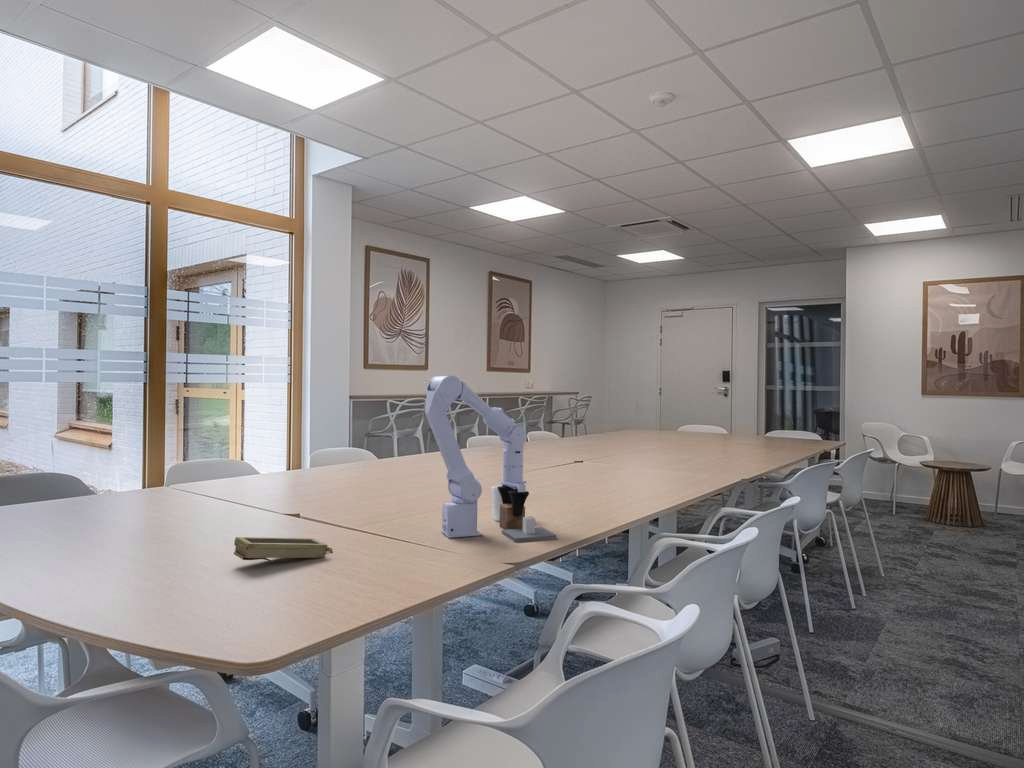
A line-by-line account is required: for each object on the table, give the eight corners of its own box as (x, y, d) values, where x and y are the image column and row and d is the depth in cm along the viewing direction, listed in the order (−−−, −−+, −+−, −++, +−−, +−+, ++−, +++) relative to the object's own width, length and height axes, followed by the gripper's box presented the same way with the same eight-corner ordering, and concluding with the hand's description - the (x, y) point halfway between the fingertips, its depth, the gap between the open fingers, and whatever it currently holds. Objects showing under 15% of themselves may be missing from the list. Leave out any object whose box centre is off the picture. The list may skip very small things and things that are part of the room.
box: (229, 558, 138) (233, 536, 139) (321, 557, 153) (325, 537, 154) (243, 567, 132) (248, 544, 133) (338, 565, 147) (341, 544, 148)
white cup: (487, 521, 187) (488, 487, 187) (495, 515, 194) (496, 484, 194) (512, 523, 185) (513, 489, 185) (519, 517, 192) (520, 485, 192)
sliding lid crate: (506, 531, 174) (506, 507, 174) (499, 526, 179) (499, 504, 179) (524, 529, 176) (525, 506, 176) (517, 525, 181) (517, 503, 181)
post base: (515, 542, 162) (515, 523, 162) (501, 533, 171) (502, 515, 171) (556, 538, 166) (556, 520, 166) (541, 530, 176) (541, 512, 176)
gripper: (535, 468, 172) (535, 517, 172) (516, 462, 186) (516, 507, 186) (512, 469, 170) (511, 519, 170) (494, 463, 183) (494, 509, 183)
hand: (512, 513), depth 178 cm, fingers open, 7 cm apart
